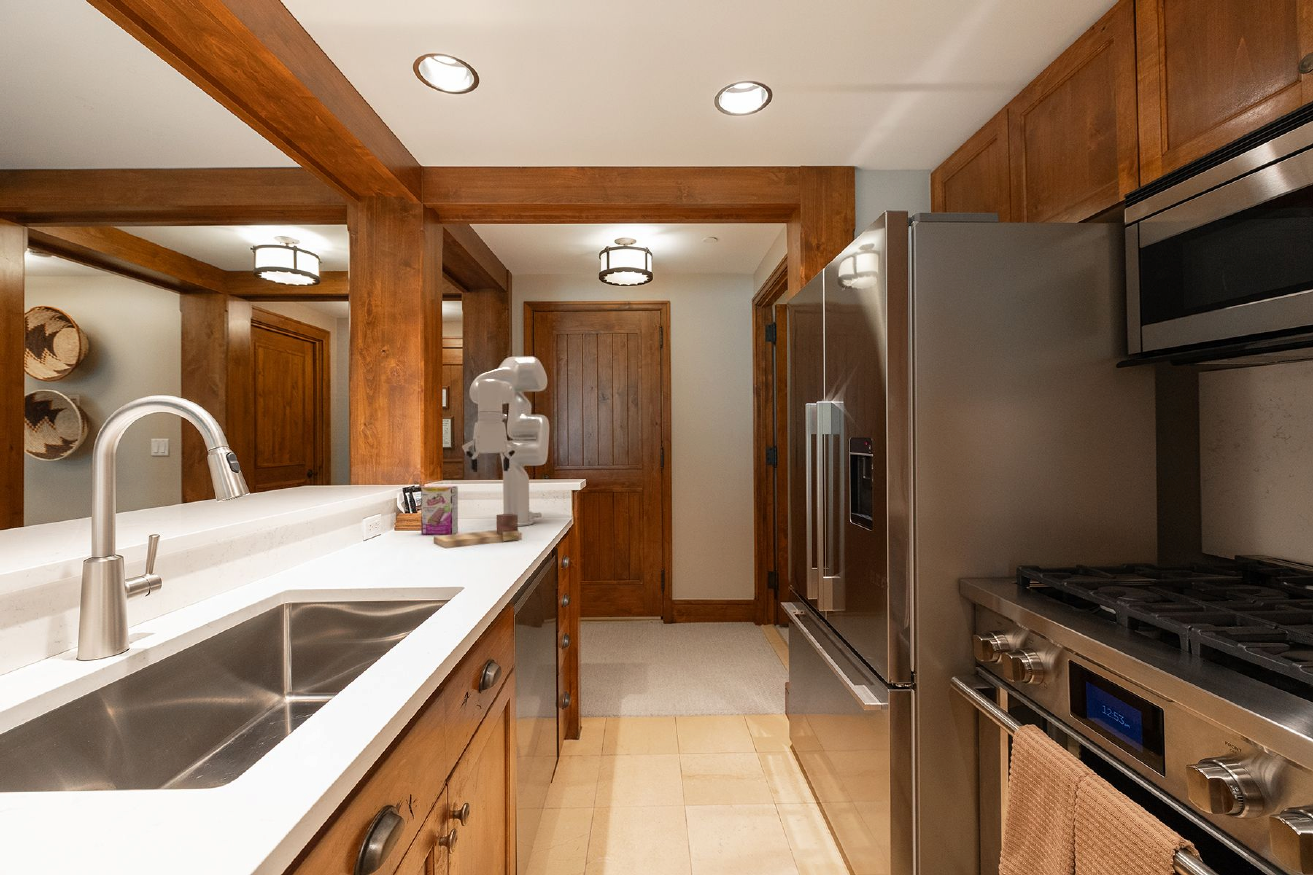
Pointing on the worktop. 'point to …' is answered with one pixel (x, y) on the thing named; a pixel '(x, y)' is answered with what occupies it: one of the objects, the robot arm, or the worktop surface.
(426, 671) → the worktop surface
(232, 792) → the worktop surface
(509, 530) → the brown block
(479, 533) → the pine board
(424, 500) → the candy bar box
